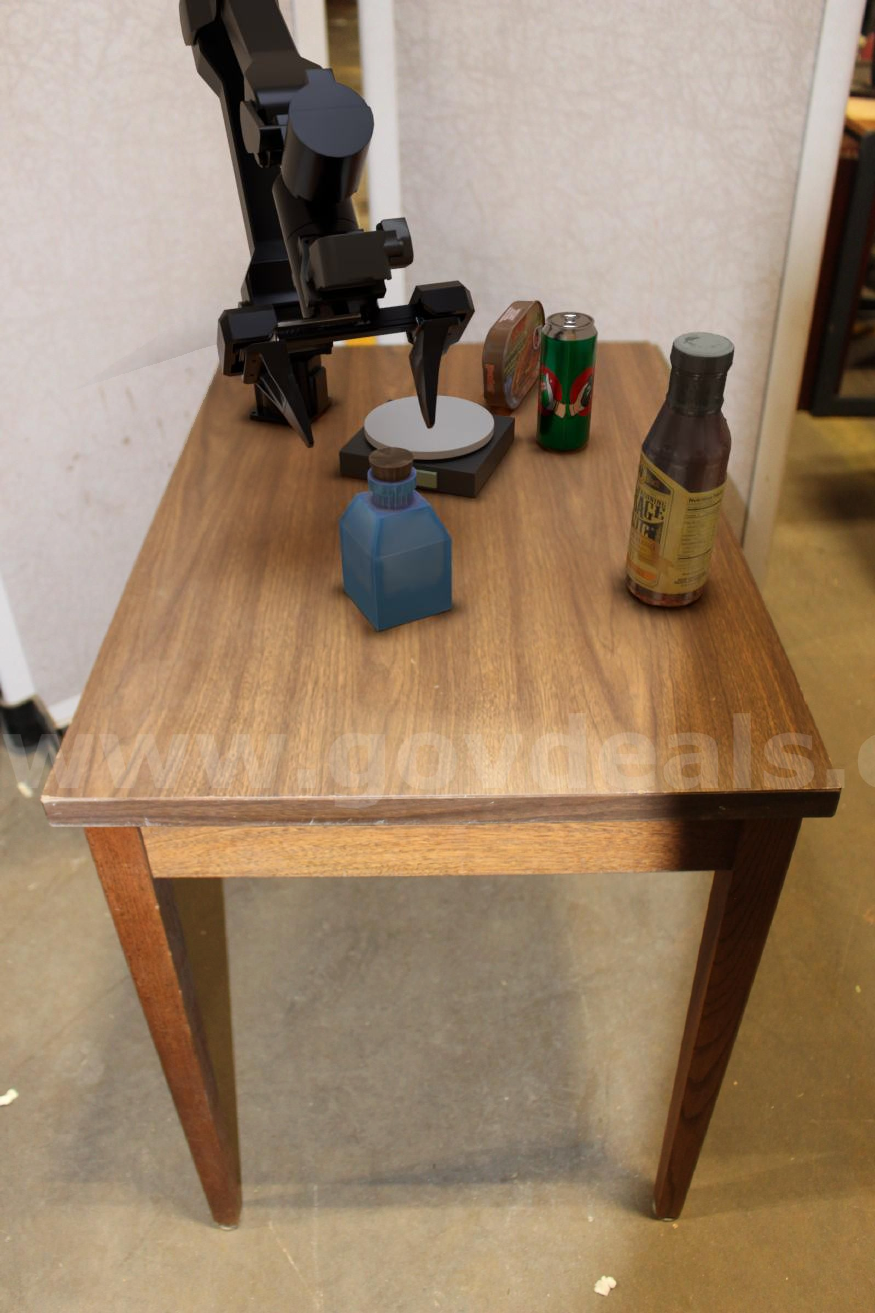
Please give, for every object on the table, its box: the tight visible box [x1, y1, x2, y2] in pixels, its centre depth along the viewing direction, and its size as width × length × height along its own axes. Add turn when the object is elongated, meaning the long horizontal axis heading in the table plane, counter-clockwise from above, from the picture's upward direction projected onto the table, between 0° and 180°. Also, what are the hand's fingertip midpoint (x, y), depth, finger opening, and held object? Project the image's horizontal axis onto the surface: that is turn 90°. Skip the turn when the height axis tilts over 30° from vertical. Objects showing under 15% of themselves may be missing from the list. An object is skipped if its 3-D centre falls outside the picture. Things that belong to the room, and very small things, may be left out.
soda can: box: [535, 311, 599, 453], centre depth 99 cm, size 5×5×12 cm
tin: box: [481, 299, 546, 410], centre depth 110 cm, size 15×3×8 cm, turn 160°
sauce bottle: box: [625, 331, 736, 608], centre depth 76 cm, size 6×6×20 cm
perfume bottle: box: [338, 447, 453, 633], centre depth 78 cm, size 6×6×12 cm
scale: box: [338, 394, 516, 498], centre depth 99 cm, size 13×12×4 cm
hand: (372, 436), depth 78 cm, fingers open, 9 cm apart
